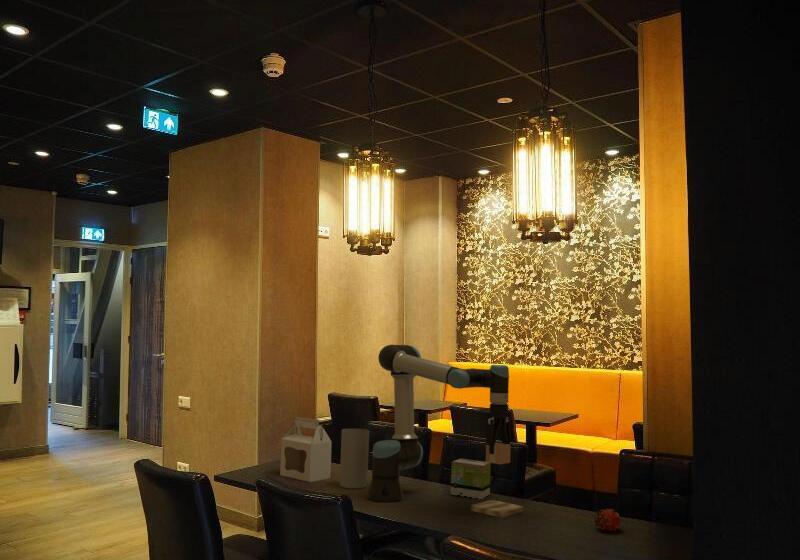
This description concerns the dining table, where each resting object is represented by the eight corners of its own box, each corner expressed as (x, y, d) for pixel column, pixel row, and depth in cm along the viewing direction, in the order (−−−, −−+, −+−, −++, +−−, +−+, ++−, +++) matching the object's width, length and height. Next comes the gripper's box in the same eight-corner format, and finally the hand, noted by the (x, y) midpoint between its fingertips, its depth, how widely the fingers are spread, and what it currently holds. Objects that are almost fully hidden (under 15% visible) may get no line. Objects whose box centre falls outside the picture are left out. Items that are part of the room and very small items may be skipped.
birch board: (470, 510, 267) (470, 505, 267) (492, 504, 278) (492, 499, 278) (502, 517, 257) (502, 512, 257) (523, 511, 268) (523, 506, 268)
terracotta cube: (485, 461, 269) (486, 444, 270) (495, 460, 274) (496, 442, 275) (500, 464, 264) (500, 446, 265) (510, 462, 269) (510, 444, 270)
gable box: (279, 475, 326) (282, 416, 329) (300, 471, 336) (303, 415, 339) (309, 482, 311) (312, 421, 314) (330, 478, 321) (333, 419, 324)
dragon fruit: (595, 537, 240) (614, 537, 247) (613, 527, 236) (632, 527, 243) (585, 514, 245) (603, 515, 252) (602, 504, 241) (621, 504, 248)
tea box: (449, 495, 293) (450, 460, 294) (458, 491, 302) (459, 457, 303) (482, 500, 286) (483, 464, 287) (490, 495, 295) (491, 461, 296)
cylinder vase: (366, 489, 299) (368, 432, 302) (338, 488, 300) (340, 431, 302) (368, 483, 312) (369, 429, 314) (341, 482, 312) (343, 428, 315)
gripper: (492, 405, 262) (491, 465, 259) (520, 403, 276) (520, 460, 274) (476, 403, 267) (475, 462, 265) (505, 401, 281) (504, 457, 279)
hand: (498, 461), depth 269 cm, fingers closed on terracotta cube, 7 cm apart
